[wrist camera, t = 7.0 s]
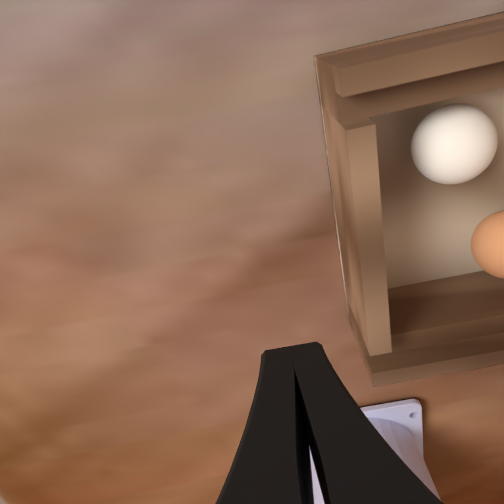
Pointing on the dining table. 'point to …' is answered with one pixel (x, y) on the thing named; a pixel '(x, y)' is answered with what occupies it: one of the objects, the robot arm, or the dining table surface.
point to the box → (414, 200)
